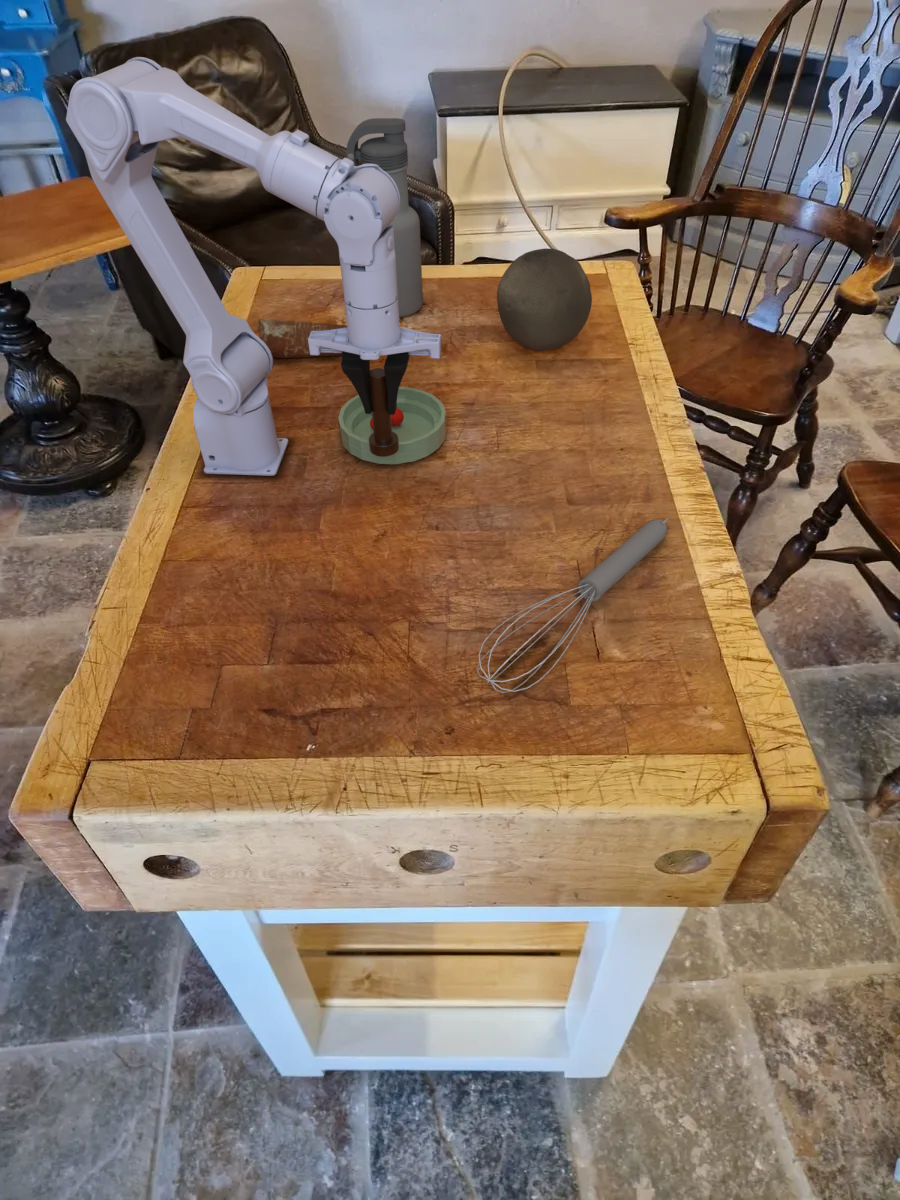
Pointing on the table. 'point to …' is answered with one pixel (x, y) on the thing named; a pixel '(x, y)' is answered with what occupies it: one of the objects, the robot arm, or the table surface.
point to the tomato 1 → (371, 423)
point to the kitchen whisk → (590, 589)
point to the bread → (291, 337)
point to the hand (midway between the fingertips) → (380, 409)
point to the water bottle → (406, 223)
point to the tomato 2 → (397, 417)
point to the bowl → (397, 427)
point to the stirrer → (381, 417)
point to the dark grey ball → (544, 299)
